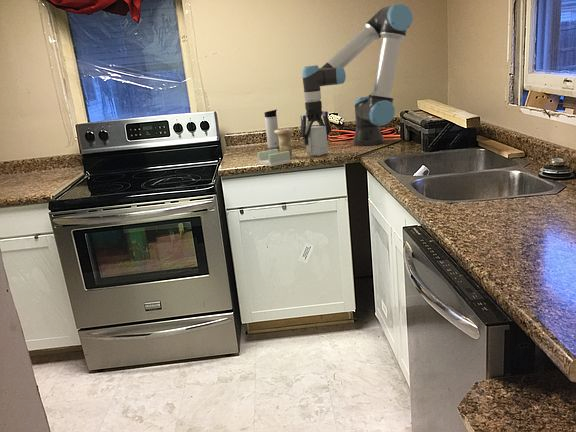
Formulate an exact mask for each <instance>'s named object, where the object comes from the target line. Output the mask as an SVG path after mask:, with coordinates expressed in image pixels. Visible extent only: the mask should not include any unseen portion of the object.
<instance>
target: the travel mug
mask: <svg viewBox="0 0 576 432" xmlns="http://www.w3.org/2000/svg"><path fill="white" fill-rule="evenodd" d="M277 111H278V109H273V110H267V111H266V112H264V123H265V131H266V133H265V134H266V141H267V149H268V150H273V149H278V150H279V149H280V147H279V136H278V134H275V133H274V131H275V130H279V128H278V116H277Z"/></svg>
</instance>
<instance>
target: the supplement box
mask: <svg viewBox="0 0 576 432" xmlns="http://www.w3.org/2000/svg"><path fill="white" fill-rule="evenodd" d="M308 138H310V142H311V152H307V151H306V153H307V156H322V155H325V154H328V153H329V145H328V144H327V143H328V141H327V133H326V126H320V125H314V126H313V125H312V127H311V130H310V133H309V137H308Z"/></svg>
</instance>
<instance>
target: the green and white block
mask: <svg viewBox="0 0 576 432" xmlns="http://www.w3.org/2000/svg"><path fill="white" fill-rule="evenodd" d="M256 155H257V161H258V162H257V163H258V164H260V165H263V166H267V167H277V166H281V165H285V164H291V159H290V152H289V151H286V152H281V153H280V152H279V148H278V149H268V150H262V151H259V152H257V153H256Z"/></svg>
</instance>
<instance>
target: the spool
mask: <svg viewBox="0 0 576 432" xmlns="http://www.w3.org/2000/svg"><path fill="white" fill-rule="evenodd" d="M294 132H295V131H294V128H280V129H279V128H278V130H275V131H274V133H275V134H278V136H279V147H280V148H279V153H281V152H286V151H289V152H290V160H292V158H293V159H295V158H296V157H297V155H296V153H293V147H292V139H291V138H292V136H291V133H294Z"/></svg>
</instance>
